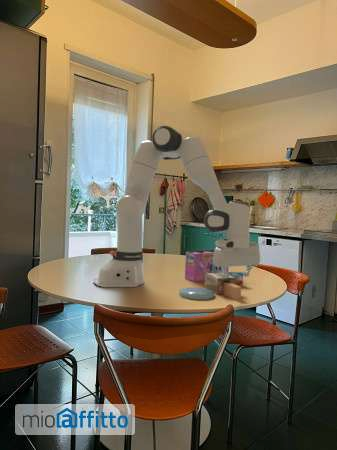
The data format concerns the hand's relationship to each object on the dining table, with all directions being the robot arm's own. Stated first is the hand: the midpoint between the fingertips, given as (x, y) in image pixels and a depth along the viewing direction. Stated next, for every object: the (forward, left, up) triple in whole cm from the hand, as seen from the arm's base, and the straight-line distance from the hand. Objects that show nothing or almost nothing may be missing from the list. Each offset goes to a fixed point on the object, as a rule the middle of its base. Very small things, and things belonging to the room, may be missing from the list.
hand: (236, 277), depth 125 cm
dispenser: (-1, +10, -8) cm, 13 cm away
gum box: (+6, +33, -9) cm, 35 cm away
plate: (-14, +7, -8) cm, 17 cm away
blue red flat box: (+9, +18, -9) cm, 22 cm away
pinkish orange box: (-1, +4, -9) cm, 9 cm away
